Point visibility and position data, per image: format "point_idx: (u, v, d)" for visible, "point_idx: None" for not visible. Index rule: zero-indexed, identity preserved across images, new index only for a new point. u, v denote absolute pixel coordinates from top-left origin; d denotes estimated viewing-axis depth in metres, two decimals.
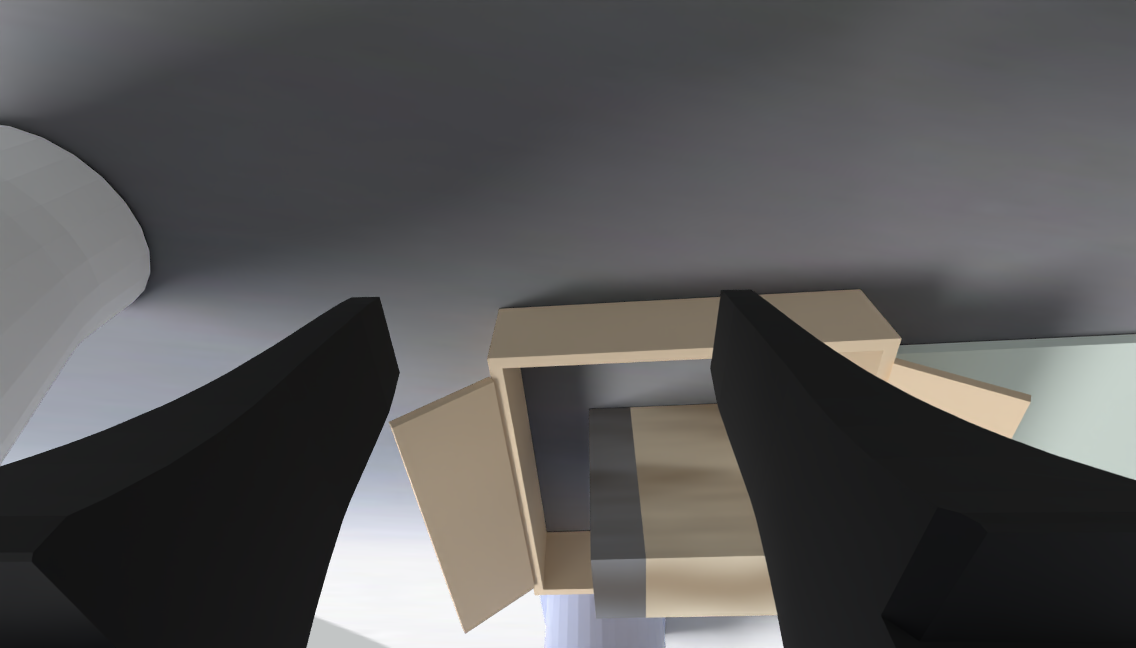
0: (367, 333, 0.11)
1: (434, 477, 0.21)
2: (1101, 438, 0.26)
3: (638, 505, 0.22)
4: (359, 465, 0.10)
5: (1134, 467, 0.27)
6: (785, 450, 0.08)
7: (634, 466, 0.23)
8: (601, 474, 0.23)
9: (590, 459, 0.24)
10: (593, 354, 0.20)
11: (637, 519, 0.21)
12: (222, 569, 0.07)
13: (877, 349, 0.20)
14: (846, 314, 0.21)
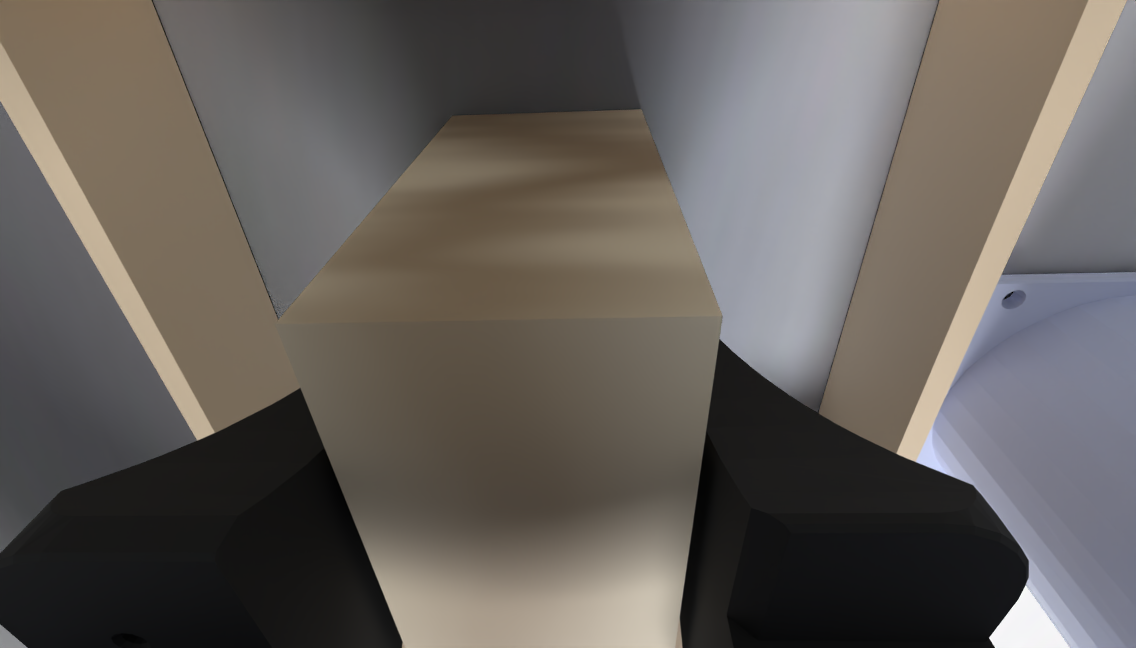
0: None
1: None
2: None
3: None
4: None
5: None
6: None
7: None
8: None
9: None
10: None
11: None
12: (344, 569, 0.07)
13: None
14: None
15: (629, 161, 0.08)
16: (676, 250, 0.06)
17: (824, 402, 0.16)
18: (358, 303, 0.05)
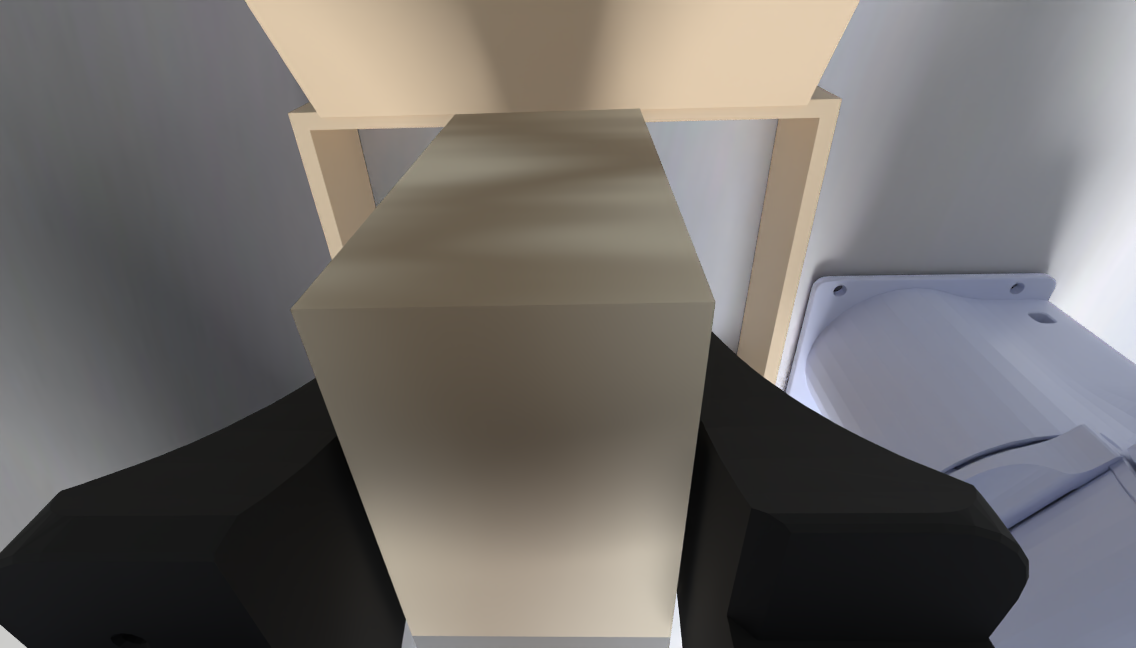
0: None
1: None
2: None
3: None
4: None
5: None
6: None
7: None
8: None
9: None
10: None
11: None
12: (344, 569, 0.07)
13: (310, 138, 0.16)
14: None
15: (627, 158, 0.09)
16: (672, 242, 0.06)
17: None
18: (369, 290, 0.05)
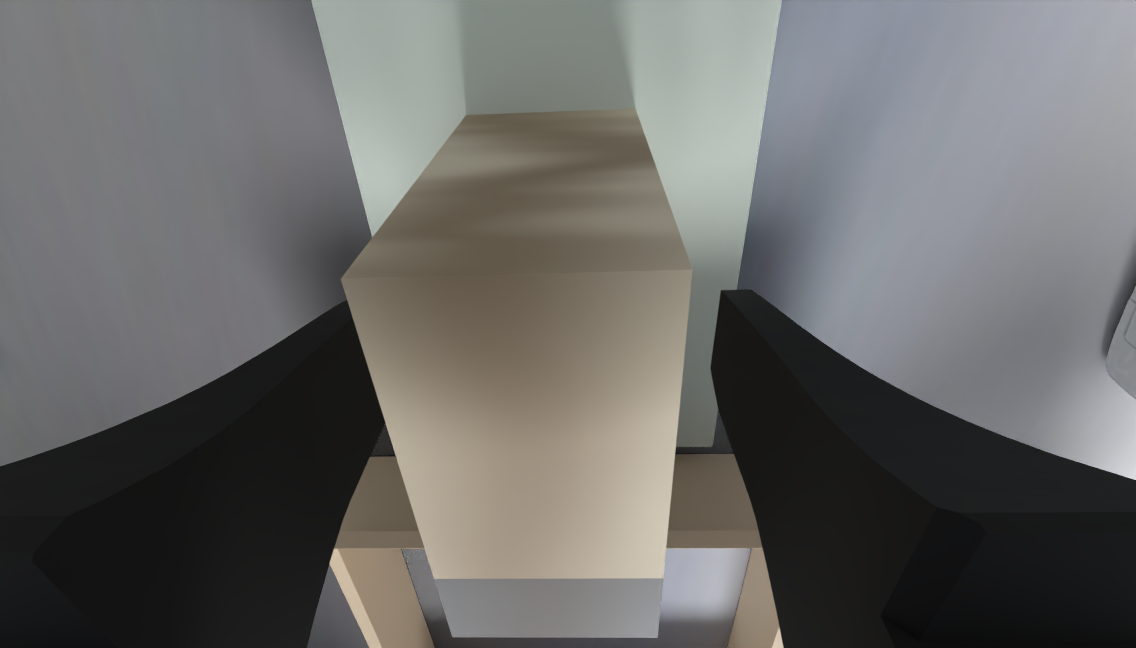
0: None
1: None
2: (579, 87, 0.12)
3: None
4: (359, 465, 0.10)
5: None
6: (785, 450, 0.08)
7: None
8: None
9: None
10: None
11: None
12: (222, 569, 0.07)
13: (338, 552, 0.18)
14: None
15: (623, 153, 0.10)
16: (659, 223, 0.07)
17: (734, 625, 0.26)
18: (404, 263, 0.06)
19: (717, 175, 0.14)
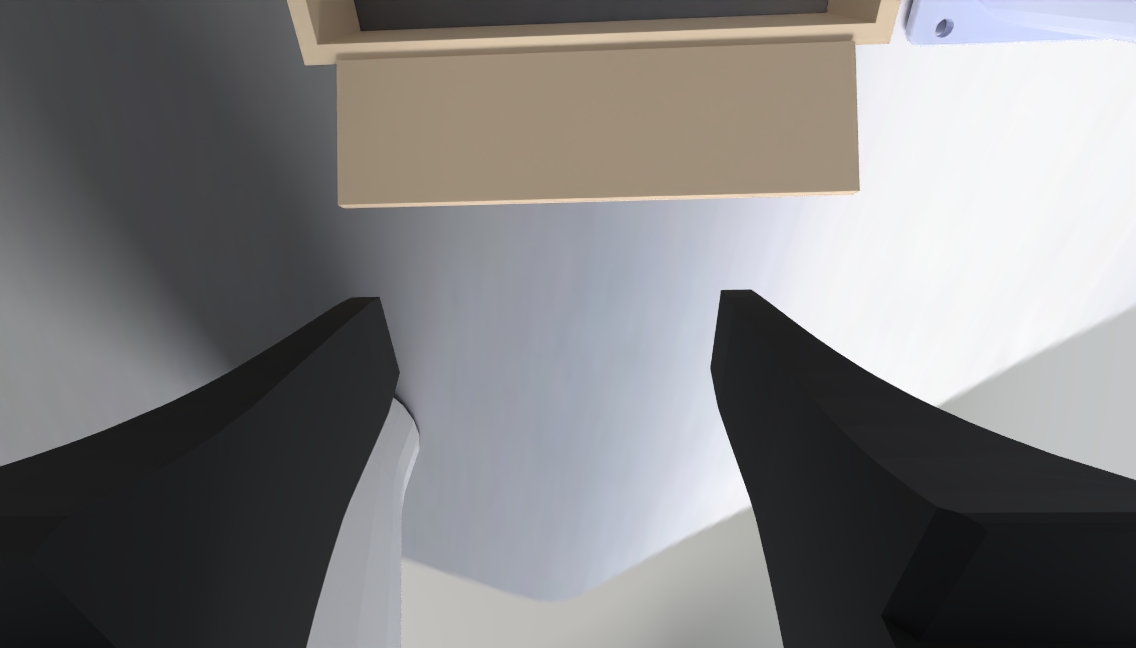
0: (367, 333, 0.11)
1: (451, 170, 0.15)
2: None
3: None
4: (359, 465, 0.10)
5: None
6: (785, 450, 0.08)
7: None
8: None
9: None
10: None
11: None
12: (222, 569, 0.07)
13: None
14: None
15: None
16: None
17: None
18: None
19: None
